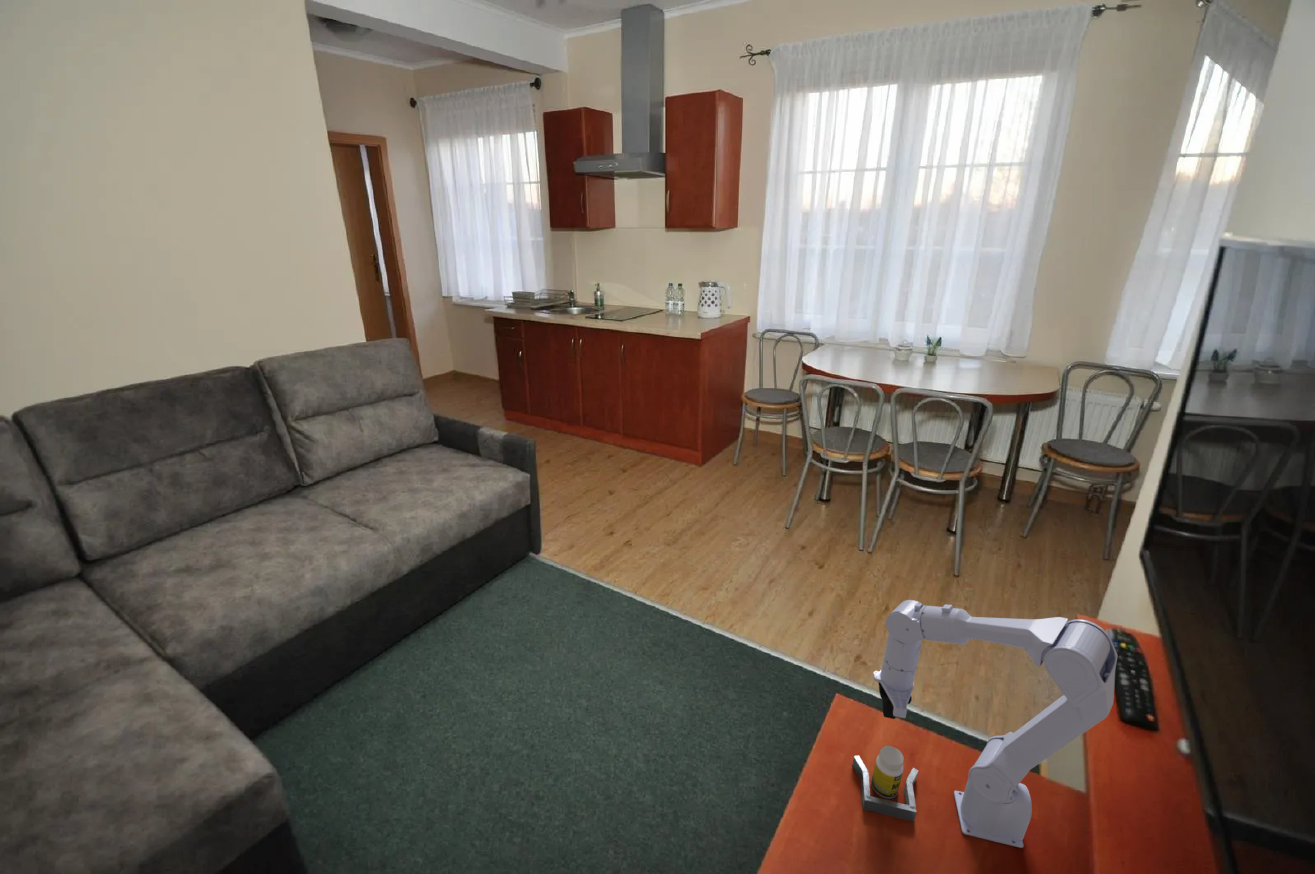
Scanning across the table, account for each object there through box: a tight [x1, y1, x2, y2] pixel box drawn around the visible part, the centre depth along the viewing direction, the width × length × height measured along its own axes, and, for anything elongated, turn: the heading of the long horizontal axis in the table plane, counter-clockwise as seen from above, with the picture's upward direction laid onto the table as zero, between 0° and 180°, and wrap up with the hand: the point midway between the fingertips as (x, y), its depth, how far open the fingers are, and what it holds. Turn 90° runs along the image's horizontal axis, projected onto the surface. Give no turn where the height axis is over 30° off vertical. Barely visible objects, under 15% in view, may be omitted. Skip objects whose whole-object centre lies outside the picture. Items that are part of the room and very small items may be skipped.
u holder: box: [851, 755, 919, 823], centre depth 107 cm, size 12×9×2 cm
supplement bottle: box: [870, 745, 905, 800], centre depth 107 cm, size 5×5×8 cm
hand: (888, 715), depth 112 cm, fingers closed
